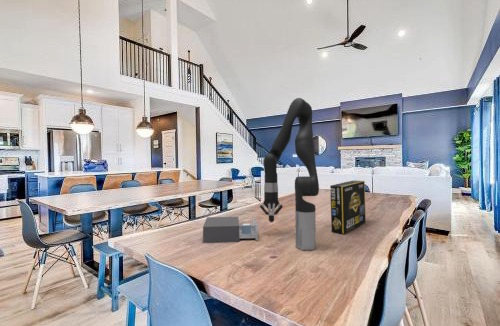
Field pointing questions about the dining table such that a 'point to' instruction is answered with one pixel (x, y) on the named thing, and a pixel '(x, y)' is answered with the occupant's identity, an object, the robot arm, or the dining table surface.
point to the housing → (221, 229)
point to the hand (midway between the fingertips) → (271, 221)
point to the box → (347, 206)
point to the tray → (253, 231)
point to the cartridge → (246, 228)
